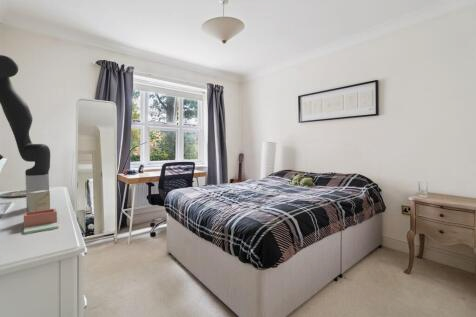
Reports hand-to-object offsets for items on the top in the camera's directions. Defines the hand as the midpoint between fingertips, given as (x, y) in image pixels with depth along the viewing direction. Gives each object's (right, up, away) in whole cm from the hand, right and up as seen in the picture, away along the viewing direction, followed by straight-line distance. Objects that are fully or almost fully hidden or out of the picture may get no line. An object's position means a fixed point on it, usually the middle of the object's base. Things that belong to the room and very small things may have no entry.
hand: (0, 159), depth 94 cm
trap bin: (+16, -27, +1) cm, 31 cm away
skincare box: (+9, -26, +9) cm, 29 cm away
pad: (+21, -27, -5) cm, 34 cm away
